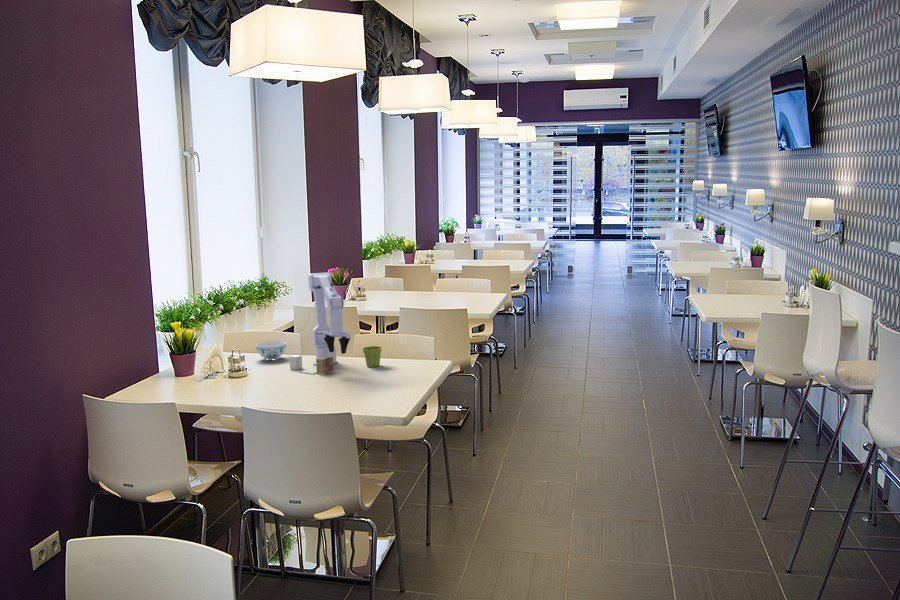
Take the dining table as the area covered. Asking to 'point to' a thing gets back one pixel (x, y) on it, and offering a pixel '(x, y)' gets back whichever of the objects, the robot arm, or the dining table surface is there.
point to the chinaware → (271, 349)
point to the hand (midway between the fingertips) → (337, 352)
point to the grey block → (295, 362)
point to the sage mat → (310, 370)
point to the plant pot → (372, 355)
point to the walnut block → (324, 364)
